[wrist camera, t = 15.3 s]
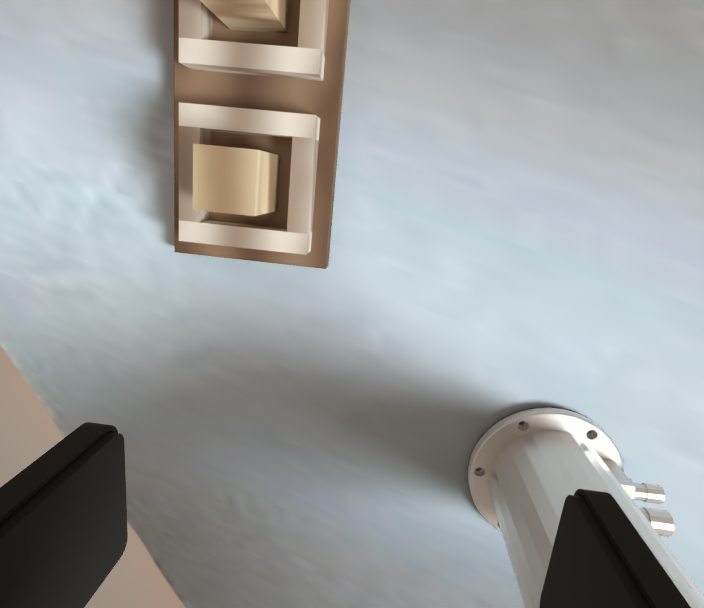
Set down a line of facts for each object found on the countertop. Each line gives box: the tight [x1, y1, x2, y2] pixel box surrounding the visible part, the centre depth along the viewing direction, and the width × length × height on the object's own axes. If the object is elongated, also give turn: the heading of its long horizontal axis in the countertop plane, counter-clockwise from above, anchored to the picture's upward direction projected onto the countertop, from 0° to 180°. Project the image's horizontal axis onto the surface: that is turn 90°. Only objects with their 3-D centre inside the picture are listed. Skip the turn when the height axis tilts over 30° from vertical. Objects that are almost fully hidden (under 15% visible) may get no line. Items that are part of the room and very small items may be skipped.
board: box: [174, 0, 350, 269], centre depth 31 cm, size 12×24×8 cm, turn 174°
